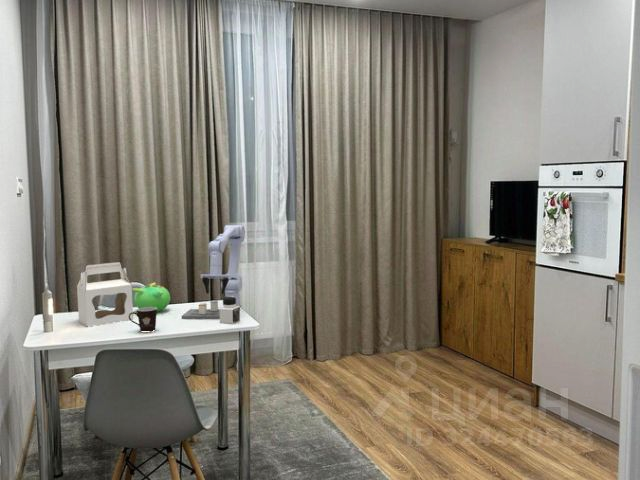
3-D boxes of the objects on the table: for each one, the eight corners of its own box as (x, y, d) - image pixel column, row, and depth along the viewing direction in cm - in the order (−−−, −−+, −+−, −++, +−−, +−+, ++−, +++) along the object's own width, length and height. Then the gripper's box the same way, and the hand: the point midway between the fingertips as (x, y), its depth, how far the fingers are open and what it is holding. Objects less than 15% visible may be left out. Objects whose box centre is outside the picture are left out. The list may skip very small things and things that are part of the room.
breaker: (212, 309, 295) (211, 300, 294) (218, 309, 295) (217, 300, 294) (210, 311, 292) (210, 301, 291) (216, 311, 292) (216, 301, 291)
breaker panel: (190, 312, 298) (190, 309, 298) (227, 312, 297) (227, 309, 297) (181, 319, 283) (181, 315, 283) (220, 319, 282) (219, 316, 282)
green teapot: (174, 308, 308) (173, 280, 306) (165, 315, 291) (163, 286, 290) (140, 308, 308) (139, 281, 307) (129, 315, 292) (128, 286, 290)
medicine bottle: (233, 324, 272) (232, 299, 271) (219, 323, 275) (218, 298, 273) (240, 320, 279) (239, 296, 278) (226, 319, 281) (226, 295, 280)
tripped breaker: (200, 312, 288) (200, 303, 288) (206, 312, 288) (206, 303, 288) (198, 314, 285) (198, 304, 285) (205, 314, 285) (204, 304, 284)
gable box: (87, 327, 270) (83, 267, 267) (78, 322, 280) (75, 264, 277) (133, 319, 284) (131, 262, 281) (123, 314, 294) (121, 260, 291)
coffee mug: (161, 329, 265) (160, 307, 264) (151, 333, 257) (150, 311, 256) (139, 327, 268) (138, 306, 267) (128, 332, 260) (127, 310, 259)
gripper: (199, 265, 279) (198, 293, 279) (228, 265, 278) (228, 294, 278) (203, 265, 286) (202, 292, 286) (232, 265, 285) (231, 293, 285)
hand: (215, 293), depth 282 cm, fingers open, 7 cm apart
